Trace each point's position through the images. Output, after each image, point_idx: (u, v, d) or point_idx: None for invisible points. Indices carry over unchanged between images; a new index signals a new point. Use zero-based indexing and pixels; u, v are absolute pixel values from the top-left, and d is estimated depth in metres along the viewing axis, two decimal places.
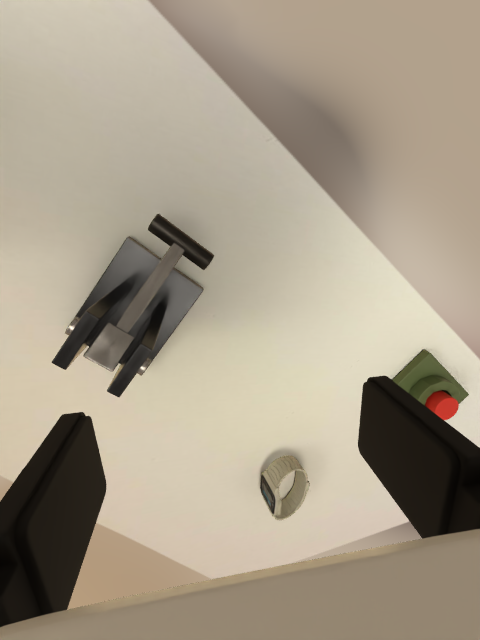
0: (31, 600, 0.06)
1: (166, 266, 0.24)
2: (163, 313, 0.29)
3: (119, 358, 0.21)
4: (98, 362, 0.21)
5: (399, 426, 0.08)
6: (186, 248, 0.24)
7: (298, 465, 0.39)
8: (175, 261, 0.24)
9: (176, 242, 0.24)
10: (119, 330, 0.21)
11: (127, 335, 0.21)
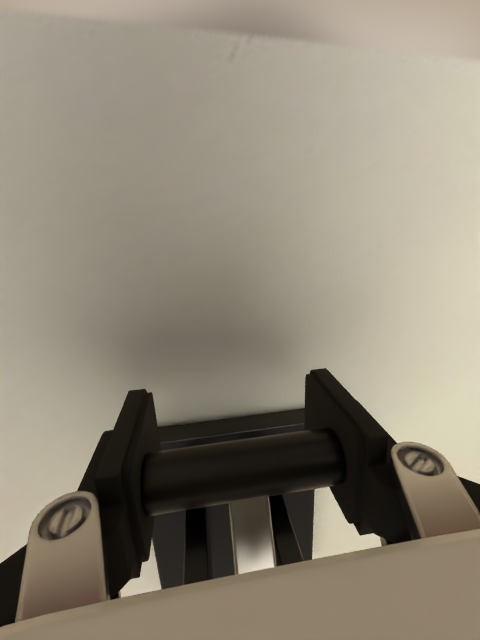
0: (130, 536, 0.07)
1: None
2: (290, 531, 0.14)
3: None
4: None
5: (327, 413, 0.09)
6: (268, 490, 0.08)
7: None
8: (269, 545, 0.08)
9: (235, 498, 0.08)
10: None
11: None
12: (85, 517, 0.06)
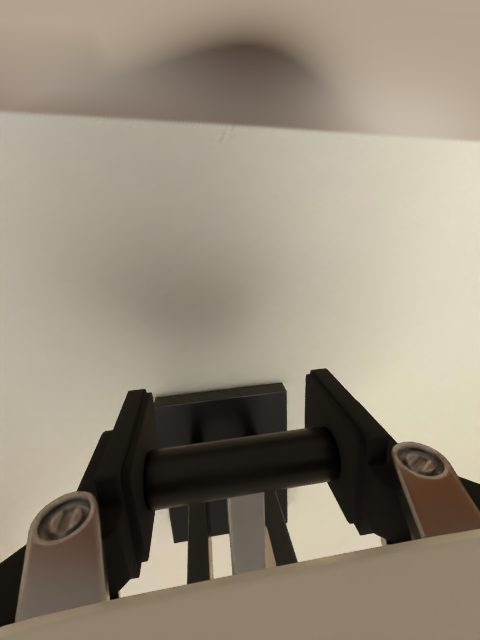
0: (129, 536, 0.07)
1: (250, 540, 0.09)
2: None
3: None
4: None
5: (328, 413, 0.09)
6: (265, 491, 0.09)
7: None
8: (260, 522, 0.09)
9: (234, 497, 0.09)
10: None
11: None
12: (84, 517, 0.06)
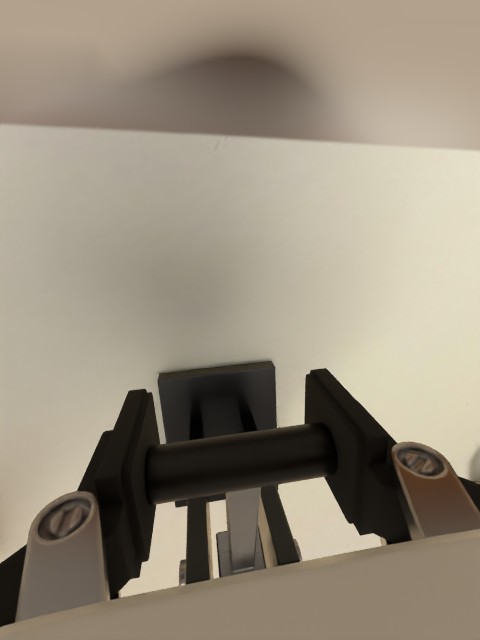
0: (130, 535, 0.07)
1: (245, 514, 0.10)
2: None
3: None
4: None
5: (327, 413, 0.09)
6: None
7: None
8: (256, 502, 0.10)
9: (232, 490, 0.09)
10: None
11: None
12: (85, 517, 0.06)
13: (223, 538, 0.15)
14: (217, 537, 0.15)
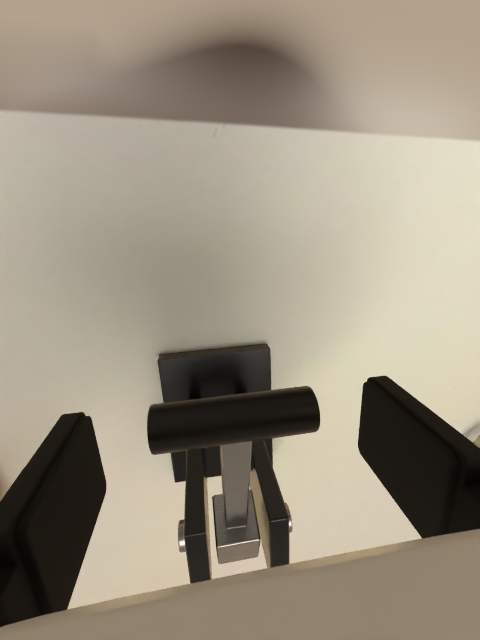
0: (31, 599, 0.06)
1: (238, 469, 0.11)
2: None
3: (257, 551, 0.16)
4: (238, 560, 0.16)
5: (399, 426, 0.08)
6: None
7: None
8: (247, 458, 0.11)
9: (225, 444, 0.10)
10: (236, 545, 0.15)
11: (249, 543, 0.15)
12: None
13: (219, 500, 0.16)
14: (213, 499, 0.16)
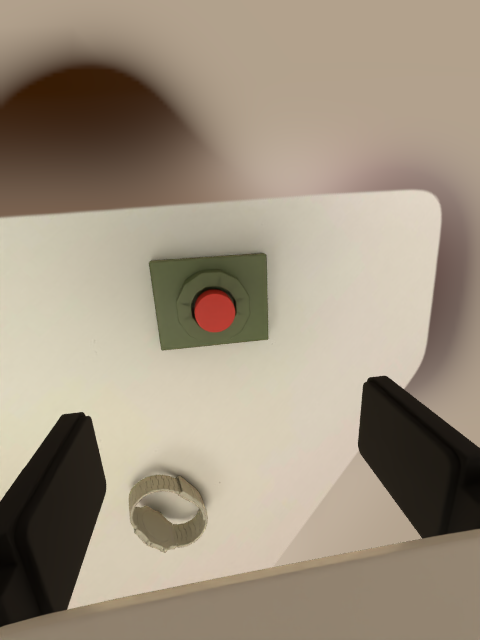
0: (31, 600, 0.06)
1: None
2: None
3: None
4: None
5: (399, 426, 0.08)
6: None
7: (148, 487, 0.30)
8: None
9: None
10: None
11: None
12: None
13: None
14: None
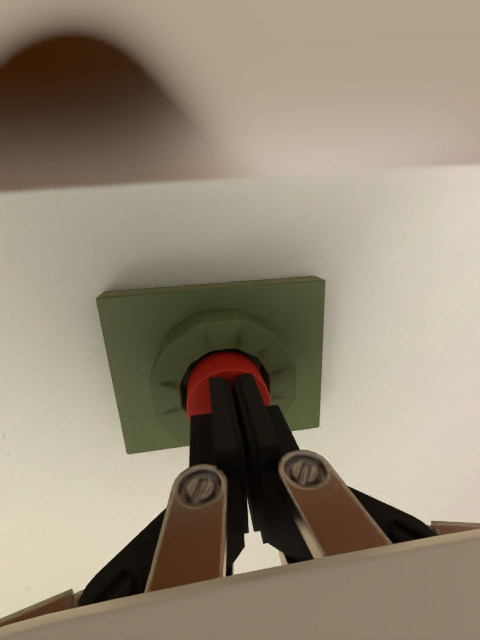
0: None
1: None
2: None
3: None
4: None
5: (241, 420, 0.09)
6: None
7: None
8: None
9: None
10: None
11: None
12: (214, 486, 0.07)
13: None
14: None
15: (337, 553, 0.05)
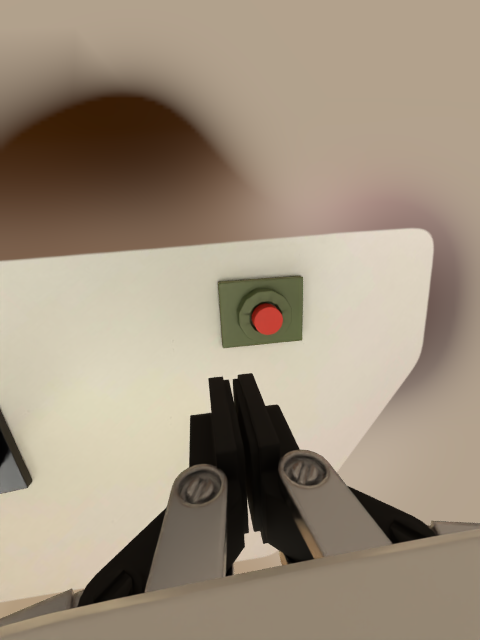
0: None
1: None
2: None
3: None
4: None
5: (241, 420, 0.09)
6: None
7: None
8: None
9: None
10: None
11: None
12: (214, 486, 0.07)
13: None
14: None
15: (337, 553, 0.05)
